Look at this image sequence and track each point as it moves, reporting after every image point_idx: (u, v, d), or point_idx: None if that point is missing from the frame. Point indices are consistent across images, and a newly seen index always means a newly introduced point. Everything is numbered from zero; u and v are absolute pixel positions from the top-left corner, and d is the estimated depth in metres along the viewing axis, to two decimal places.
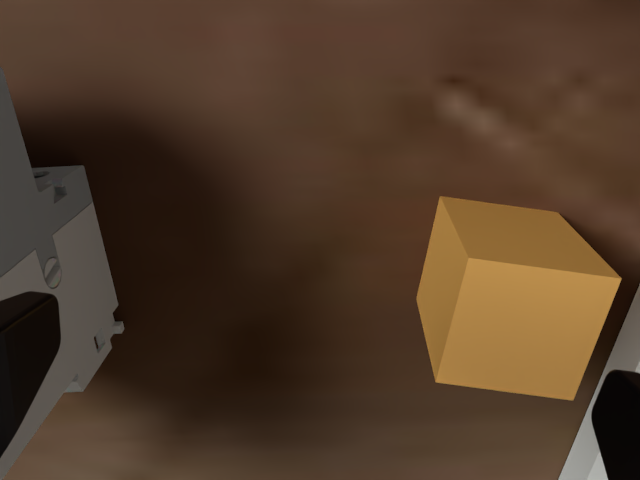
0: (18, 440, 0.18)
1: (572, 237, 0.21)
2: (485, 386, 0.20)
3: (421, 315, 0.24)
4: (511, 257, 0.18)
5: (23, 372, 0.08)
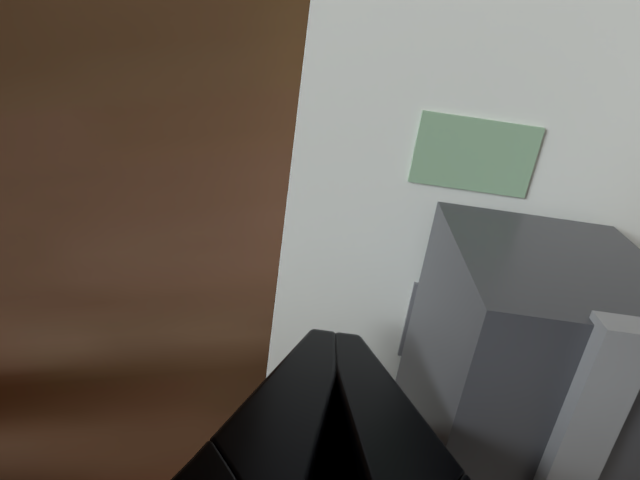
0: None
1: None
2: None
3: None
4: None
5: None
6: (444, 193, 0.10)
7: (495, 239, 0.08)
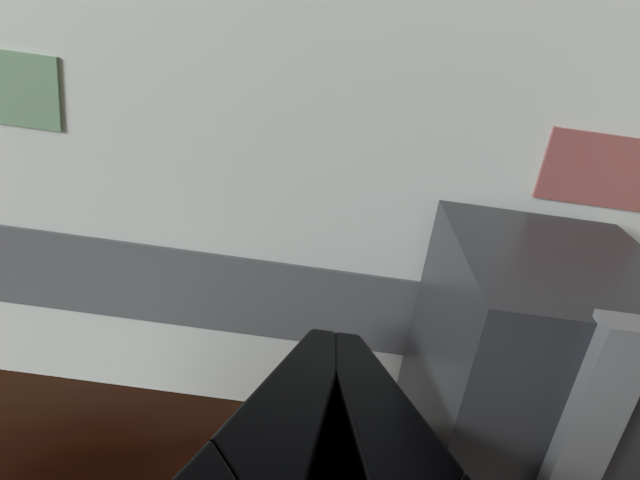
0: None
1: None
2: None
3: None
4: None
5: None
6: None
7: (497, 237, 0.08)
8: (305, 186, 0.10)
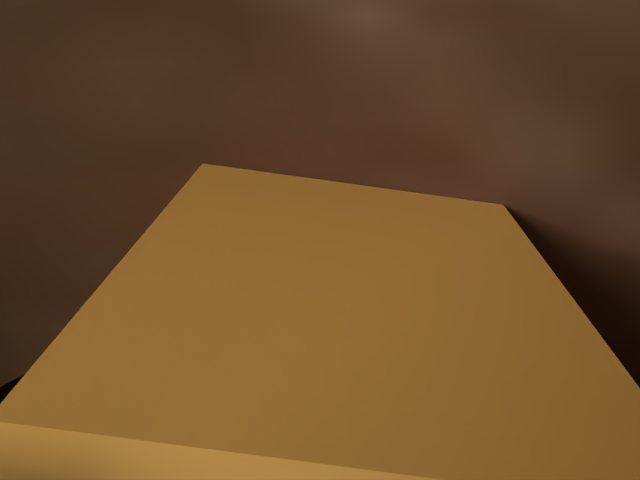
0: None
1: (530, 282, 0.07)
2: None
3: None
4: (227, 404, 0.04)
5: None
6: None
7: None
8: None
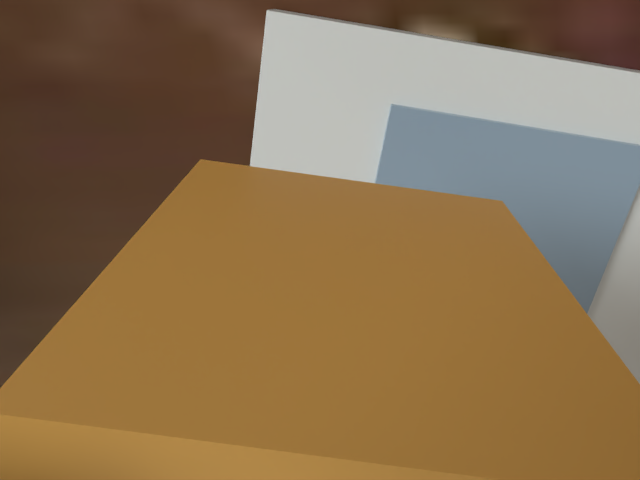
0: None
1: (529, 277, 0.07)
2: None
3: None
4: (223, 397, 0.04)
5: None
6: None
7: None
8: None
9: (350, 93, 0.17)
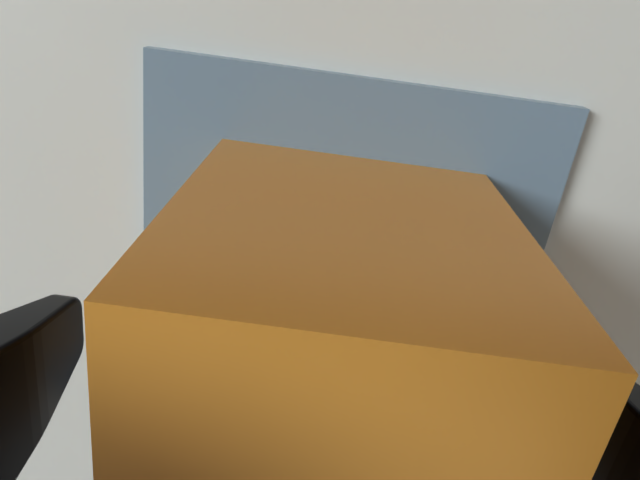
0: None
1: (502, 230, 0.08)
2: None
3: None
4: (259, 298, 0.05)
5: (49, 376, 0.08)
6: None
7: None
8: None
9: (79, 29, 0.10)
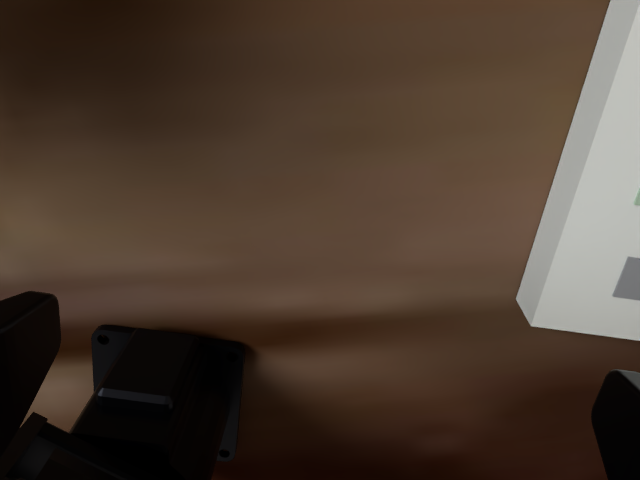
0: None
1: None
2: None
3: None
4: None
5: (23, 372, 0.08)
6: None
7: None
8: None
9: None
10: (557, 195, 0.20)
